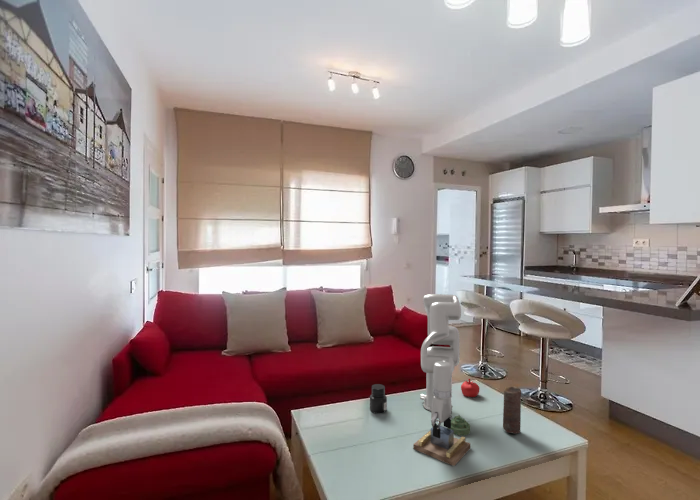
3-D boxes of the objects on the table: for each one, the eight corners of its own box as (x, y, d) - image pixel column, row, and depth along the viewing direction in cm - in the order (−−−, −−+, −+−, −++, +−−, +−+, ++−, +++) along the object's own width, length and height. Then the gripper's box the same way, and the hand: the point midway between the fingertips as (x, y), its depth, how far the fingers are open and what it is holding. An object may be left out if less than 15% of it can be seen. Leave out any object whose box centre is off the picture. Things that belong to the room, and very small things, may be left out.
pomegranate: (477, 400, 198) (477, 384, 198) (458, 396, 203) (459, 380, 203) (481, 393, 207) (481, 377, 206) (463, 389, 212) (463, 374, 211)
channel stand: (413, 448, 152) (413, 439, 152) (431, 433, 164) (431, 424, 164) (454, 466, 140) (454, 456, 140) (470, 448, 152) (470, 438, 152)
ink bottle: (389, 413, 183) (389, 389, 183) (372, 415, 181) (372, 391, 181) (383, 404, 193) (383, 382, 192) (367, 406, 191) (367, 383, 190)
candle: (522, 437, 161) (523, 392, 160) (504, 435, 162) (505, 391, 162) (518, 428, 168) (518, 385, 168) (501, 426, 170) (501, 384, 169)
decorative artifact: (470, 426, 170) (448, 423, 174) (470, 411, 170) (448, 408, 174) (470, 437, 161) (446, 433, 164) (470, 421, 161) (446, 418, 164)
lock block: (430, 442, 153) (430, 428, 153) (436, 437, 157) (436, 424, 156) (448, 450, 148) (448, 435, 147) (453, 444, 151) (453, 430, 151)
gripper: (443, 383, 161) (443, 421, 161) (424, 396, 147) (423, 437, 148) (459, 387, 156) (459, 426, 157) (441, 402, 143) (440, 444, 143)
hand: (442, 432), depth 152 cm, fingers open, 9 cm apart
